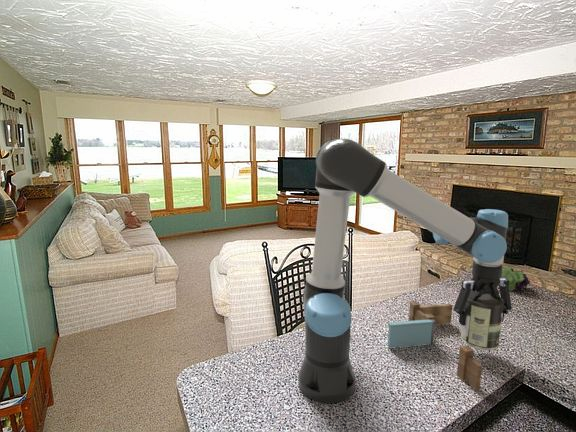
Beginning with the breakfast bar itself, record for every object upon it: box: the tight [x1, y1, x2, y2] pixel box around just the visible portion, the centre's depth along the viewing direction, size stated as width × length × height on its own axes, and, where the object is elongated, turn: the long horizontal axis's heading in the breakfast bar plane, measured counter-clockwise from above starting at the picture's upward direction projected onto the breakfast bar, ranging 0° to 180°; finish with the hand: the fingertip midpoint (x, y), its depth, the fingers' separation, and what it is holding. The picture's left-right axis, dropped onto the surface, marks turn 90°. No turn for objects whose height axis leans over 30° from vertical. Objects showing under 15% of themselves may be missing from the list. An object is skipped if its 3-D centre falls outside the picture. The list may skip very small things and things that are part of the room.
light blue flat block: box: [387, 319, 436, 349], centre depth 107 cm, size 15×2×8 cm, turn 98°
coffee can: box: [460, 290, 504, 351], centre depth 101 cm, size 10×10×14 cm
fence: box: [408, 301, 483, 391], centre depth 104 cm, size 15×34×9 cm, turn 8°
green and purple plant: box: [502, 266, 531, 292], centre depth 151 cm, size 10×11×15 cm
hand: (480, 332), depth 102 cm, fingers closed on coffee can, 10 cm apart
